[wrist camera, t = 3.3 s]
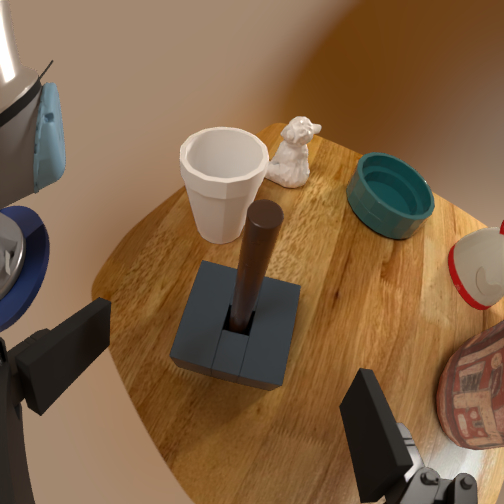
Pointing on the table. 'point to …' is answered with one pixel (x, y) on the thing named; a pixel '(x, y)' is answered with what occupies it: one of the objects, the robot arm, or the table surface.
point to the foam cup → (222, 179)
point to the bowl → (389, 195)
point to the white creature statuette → (292, 154)
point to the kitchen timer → (479, 267)
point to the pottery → (474, 392)
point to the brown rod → (254, 259)
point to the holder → (230, 343)
